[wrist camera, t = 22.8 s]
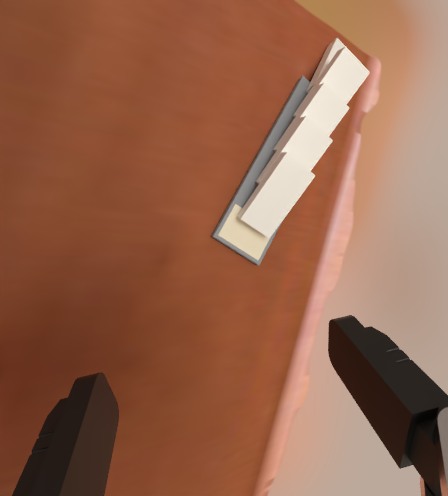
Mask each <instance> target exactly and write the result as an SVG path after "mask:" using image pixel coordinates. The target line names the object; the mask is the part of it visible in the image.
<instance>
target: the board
mask: <svg viewBox="0 0 448 496" xmlns="http://www.w3.org/2000/svg"><path fill="white" fill-rule="evenodd" d="M309 84H310V82H309V81H308V80H307V79H306V78H305V77H304V76H302V77H301V78H300V79H299V80H298V82H297V84H296V85H295V87H294V89H293V91H292V93H291V94H290V96H289V98H288V100H287V101H286V103H285V105H284V107H283V109H282V110H281V112H280V114H279V116H278V118H277V119H276V121H275V123H274V125H273V126H272V128H271V130H270V132H269V134H268V135H267V137H266V139H265V141H264V143H263V144H262V146H261V148H260V150H259V151H258V153H257V155H256V157H255V159H254V160H253V162H252V164H251V166H250V168H249V169H248V171H247V173H246V175H245V176H244V178H243V180H242V182H241V184H240V185H239V187H238V189H237V191H236V193H235V194H234V196H233V198H232V200H231V201H230V203H229V205H228V207H227V209H226V210H225V212H224V214H223V216H222V218H221V219H220V221H219V223H218V225H217V226H216V228H215V230H214V232H213V234H212V235H211V237H212V238H214V239H215V240H217V241H219V242H220V243H222V244H223V245H225V246H227V247H228V248H230V249H231V250H233V251H235V252H236V253H238V254H239V255H241V256H243V257H244V258H246V259H247V260H249V261H251V262H252V263H254V264H255V265H260V263H261V261H262V259H263V257H264V255H265V253H266V251H267V250H268V248H269V246H270V244H271V242H272V240H273V238H274V236H275V234H276V232H277V230H278V228H279V226H280V225H279V226H278V228H277V229H276V230H275V232H274V233H273V235H272V236H271V237H270V239H269V238H268V237H266V236H265V235H263V234H262V233H260V232H259V231H257V230H256V229H254V228H253V227H251V226H250V225H249V224H247V223H246V222H244V221H243V220H241V219H240V218H239V217H238V216H237V215H238V214H239V212H240V211H241V210H242V208H243V207H244V205H245V204H246V202H247V201H248V199H249V198H250V197H251V195H252V194H253V192H254V191H255V189H256V188H257V186H258V185H259V184H258V183H257V182H255V181H256V180H257V178H258V177H259V176H260V174H261V173H262V171H263V170H264V168H265V167H266V165H267V164H268V163H269V161H270V160H271V158H272V157H273V155H274V154H275V151H274V150H273V149H274V147H275V146H276V144H277V143H278V141H279V140H280V139H281V137H282V136H283V134H284V133H285V131H286V130H287V128H288V127H289V125H290V124H291V123H292V121H293V120H294V117H293V115H294V113H295V112H296V110H297V109H298V107H299V106H300V104H301V103H302V102H303V100H304V99H305V97H306V96H307V94H308V93H307V92H306V90H307V88H308V86H309Z"/></svg>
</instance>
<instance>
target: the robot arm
mask: <svg viewBox="0 0 448 496" xmlns="http://www.w3.org/2000/svg"><path fill="white" fill-rule="evenodd" d="M328 351H329V357H330V361H331V363H332V365H333V367H334V369H335V370H336V372H337V374H338V375H339V377H340V378H341V380H342V381H343V383H344V384H345V386H346V388H347V389H348V391H349V392H350V393H351V395H352V396H353V398H354V399H355V401H356V403H357V404H358V406H359V407H360V409H361V410H362V412H363V413H364V415H365V416H366V418H367V419H368V421H369V423H370V424H371V426H372V427H373V429H374V430H375V432H376V433H377V435H378V436H379V438H380V439H381V441H382V442H383V444H384V445H385V447H386V448H387V450H388V451H389V453H390V455H391V456H392V458H393V459H394V460H395V462H396V464H397V465H398V467H399V468H404V467H407V466H410V465H414V467H415V468H416V470H417V471H418V473H419V474H420V475H421V478H420V486H421V496H448V395H447V394H446V393H445V392H444V391H443V390H442V389H441V388H440V387H439V386H438V385H437V384H436V383H435V382H434V381H433V380H432V379H431V378H429V377H428V376H427V375H426V374H425V373H424V372H423V371H422V370H421V369H420V368H419V367H418V366H417V365H416V364H415V363H414V362H413V361H412V360H410V359H409V357H408V356H407V355H406V354H405V353H404V352H403V351H402V350H399V348H398V346H397V345H396V344H395V343H394V342H393V341H392V340H391V339H390V338H389V337H388V336H387V335H385V334H384V333H382V332H380V331H378V330H376V329H375V328H373V327H366V328H364V326H363V325H361V323H360V322H359V321H358V320H357V319H356V318H355V317H354V316H352V315H349V316H345V317H341V318H337V319H332V320H330V322H329V344H328ZM118 420H119V409H118V404H117V401H116V399H115V396H114V394H113V392H112V390H111V388H110V386H109V384H108V381H107V379H106V377H105V375H104V374H103V373H97V374H93V375H88V376H84V377H80V378H77V379H76V380H75V382H74V384H73V387H72V389H71V392H70V394H69V397H68V398H65V399H61V400H60V401H59V402H58V403H57V405H56V406H55V407H54V409H53V410H52V411H51V412H50V414H49V415H48V416H47V418H46V420H45V422H44V425H43V427H42V429H41V431H40V434H39V439H37V441H36V443H35V445H34V447H33V450H32V455H30V456H29V459H28V461H27V463H26V465H25V468H24V470H23V472H22V474H21V477H20V479H19V481H18V483H17V486H16V488H15V490H14V492H13V495H12V496H104V494H105V488H106V483H107V478H108V473H109V468H110V462H111V457H112V452H113V447H114V442H115V437H116V431H117V426H118Z"/></svg>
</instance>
